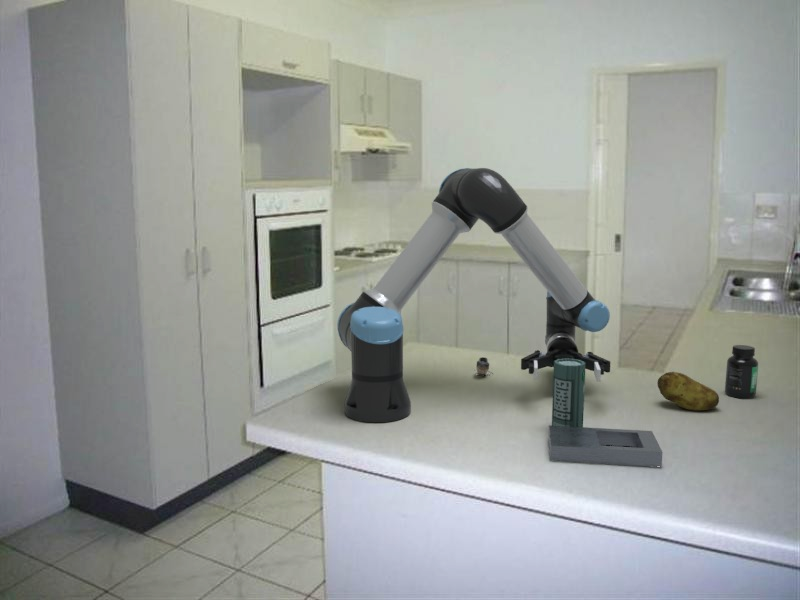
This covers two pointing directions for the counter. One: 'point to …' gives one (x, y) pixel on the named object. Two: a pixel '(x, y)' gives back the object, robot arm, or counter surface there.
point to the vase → (482, 367)
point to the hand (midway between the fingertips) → (567, 374)
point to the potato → (687, 392)
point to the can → (568, 392)
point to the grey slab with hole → (587, 449)
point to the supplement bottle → (741, 373)
